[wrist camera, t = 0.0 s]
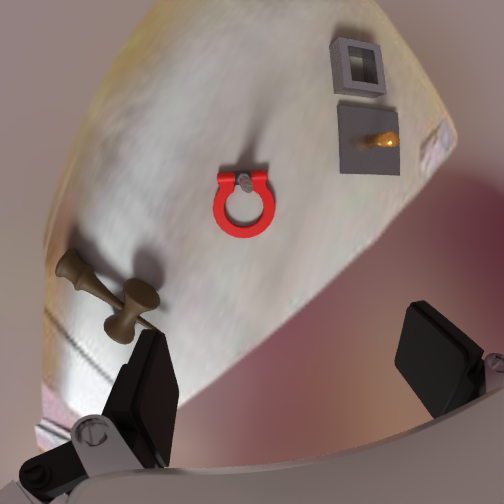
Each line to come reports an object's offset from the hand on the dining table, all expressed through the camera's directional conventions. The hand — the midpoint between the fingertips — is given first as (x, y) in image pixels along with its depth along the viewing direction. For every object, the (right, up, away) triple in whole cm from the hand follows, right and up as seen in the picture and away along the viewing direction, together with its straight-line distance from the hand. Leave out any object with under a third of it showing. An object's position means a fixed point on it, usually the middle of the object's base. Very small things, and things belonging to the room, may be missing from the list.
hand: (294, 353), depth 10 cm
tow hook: (-3, +10, +30) cm, 32 cm away
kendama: (-23, -3, +32) cm, 40 cm away
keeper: (+16, +20, +28) cm, 38 cm away
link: (+13, +30, +24) cm, 41 cm away
